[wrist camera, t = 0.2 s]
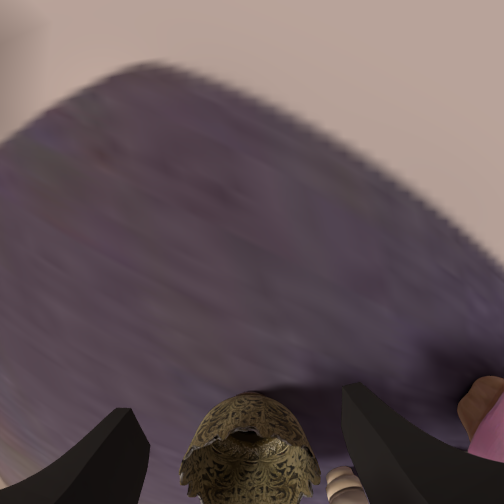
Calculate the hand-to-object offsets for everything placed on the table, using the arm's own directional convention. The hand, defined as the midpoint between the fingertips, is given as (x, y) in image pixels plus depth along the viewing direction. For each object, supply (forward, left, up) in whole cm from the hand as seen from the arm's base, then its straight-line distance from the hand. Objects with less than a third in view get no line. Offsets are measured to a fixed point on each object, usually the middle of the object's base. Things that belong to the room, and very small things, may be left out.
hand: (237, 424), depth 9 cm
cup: (-6, -3, -11) cm, 13 cm away
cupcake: (+2, -23, -11) cm, 26 cm away
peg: (-10, -14, -11) cm, 20 cm away
